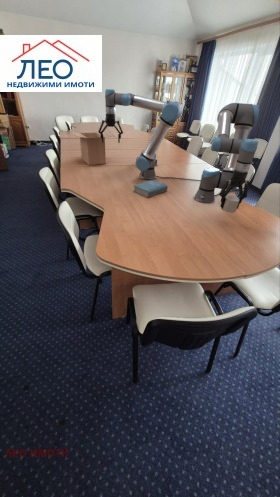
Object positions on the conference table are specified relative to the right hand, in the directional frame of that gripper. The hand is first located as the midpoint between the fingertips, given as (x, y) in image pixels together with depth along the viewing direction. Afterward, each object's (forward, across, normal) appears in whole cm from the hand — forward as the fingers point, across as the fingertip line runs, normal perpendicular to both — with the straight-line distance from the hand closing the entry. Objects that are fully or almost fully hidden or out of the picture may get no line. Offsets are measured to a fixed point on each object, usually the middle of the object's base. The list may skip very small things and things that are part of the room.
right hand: (228, 207), depth 135 cm
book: (+12, -43, +49) cm, 67 cm away
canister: (+1, 0, 0) cm, 1 cm away
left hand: (-16, -76, +83) cm, 114 cm away
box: (+13, -98, +127) cm, 161 cm away
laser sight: (+13, -41, +126) cm, 133 cm away
